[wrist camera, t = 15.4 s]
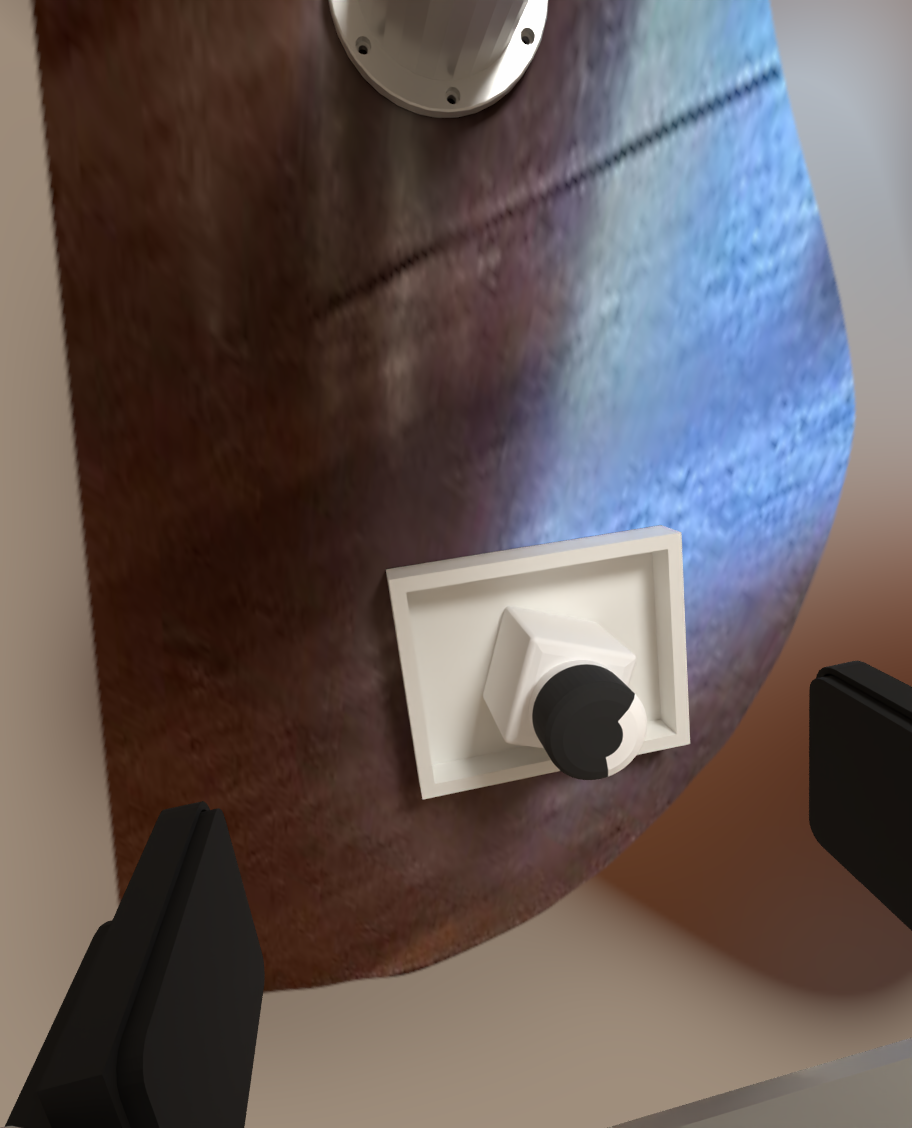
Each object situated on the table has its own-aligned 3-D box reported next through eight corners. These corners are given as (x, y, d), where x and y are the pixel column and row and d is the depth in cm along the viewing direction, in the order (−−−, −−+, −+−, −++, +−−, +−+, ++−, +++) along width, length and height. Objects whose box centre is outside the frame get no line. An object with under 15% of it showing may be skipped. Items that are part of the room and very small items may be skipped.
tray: (385, 569, 45) (388, 580, 42) (660, 525, 47) (681, 532, 44) (417, 776, 49) (422, 799, 46) (670, 725, 51) (690, 743, 48)
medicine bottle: (480, 696, 48) (524, 788, 36) (504, 603, 46) (557, 667, 35) (571, 711, 49) (642, 802, 37) (597, 620, 48) (678, 687, 36)
